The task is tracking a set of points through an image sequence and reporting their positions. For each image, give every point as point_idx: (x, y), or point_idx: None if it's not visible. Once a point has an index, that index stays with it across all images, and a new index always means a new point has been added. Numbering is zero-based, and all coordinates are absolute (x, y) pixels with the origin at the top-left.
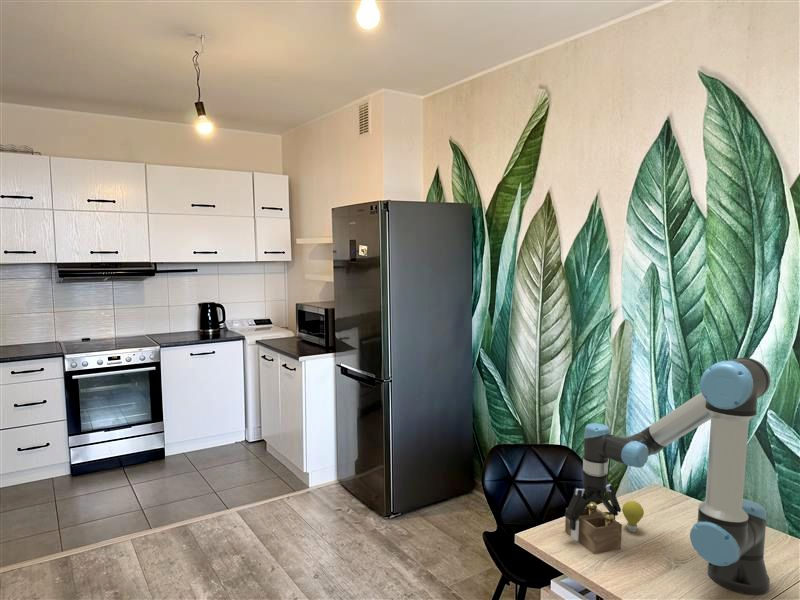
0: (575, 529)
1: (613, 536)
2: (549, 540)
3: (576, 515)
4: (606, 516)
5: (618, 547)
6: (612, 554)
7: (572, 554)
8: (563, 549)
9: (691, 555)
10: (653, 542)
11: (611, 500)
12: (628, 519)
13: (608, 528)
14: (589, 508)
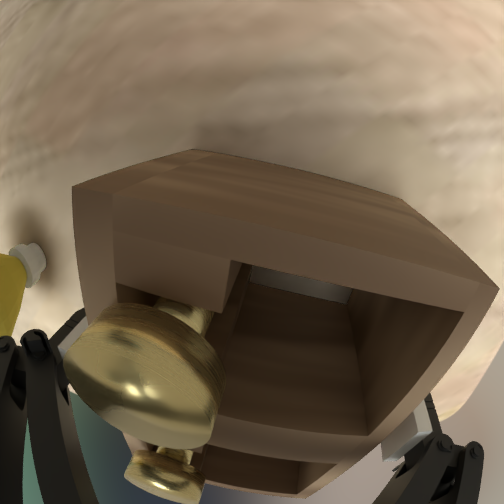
0: None
1: (238, 177)
2: None
3: (442, 472)
4: (200, 402)
5: (207, 153)
6: (303, 129)
7: (480, 264)
8: None
9: (9, 28)
10: (22, 142)
11: (13, 445)
12: (13, 286)
13: (310, 227)
14: (199, 478)
